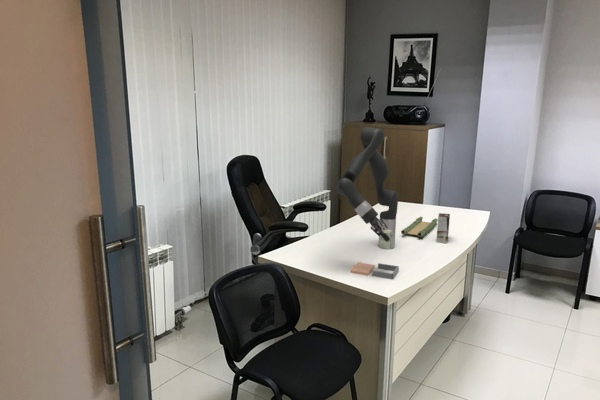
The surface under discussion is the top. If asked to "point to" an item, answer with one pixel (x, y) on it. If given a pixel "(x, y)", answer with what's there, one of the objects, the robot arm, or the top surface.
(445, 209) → the top surface
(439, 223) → the coffee box
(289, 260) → the top surface
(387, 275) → the charcoal channel
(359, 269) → the terracotta tile
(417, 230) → the stretcher
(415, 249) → the top surface
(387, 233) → the sage block
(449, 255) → the top surface
